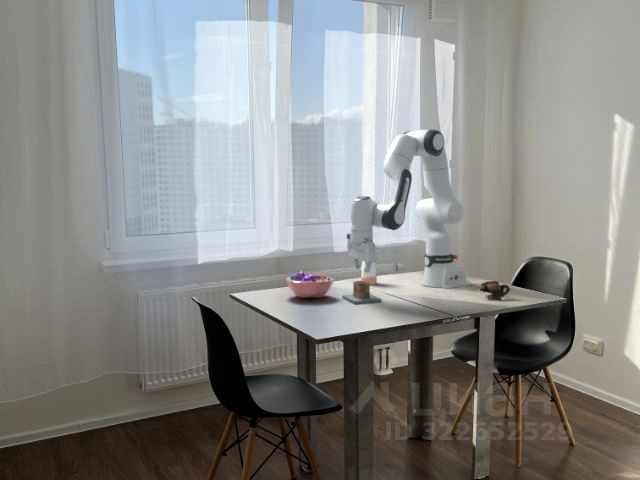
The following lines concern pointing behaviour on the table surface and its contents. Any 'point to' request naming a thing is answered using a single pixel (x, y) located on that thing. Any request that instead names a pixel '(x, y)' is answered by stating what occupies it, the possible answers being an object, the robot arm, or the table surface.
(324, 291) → the cell model
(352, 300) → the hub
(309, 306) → the table surface
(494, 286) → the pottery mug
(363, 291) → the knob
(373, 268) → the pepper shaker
